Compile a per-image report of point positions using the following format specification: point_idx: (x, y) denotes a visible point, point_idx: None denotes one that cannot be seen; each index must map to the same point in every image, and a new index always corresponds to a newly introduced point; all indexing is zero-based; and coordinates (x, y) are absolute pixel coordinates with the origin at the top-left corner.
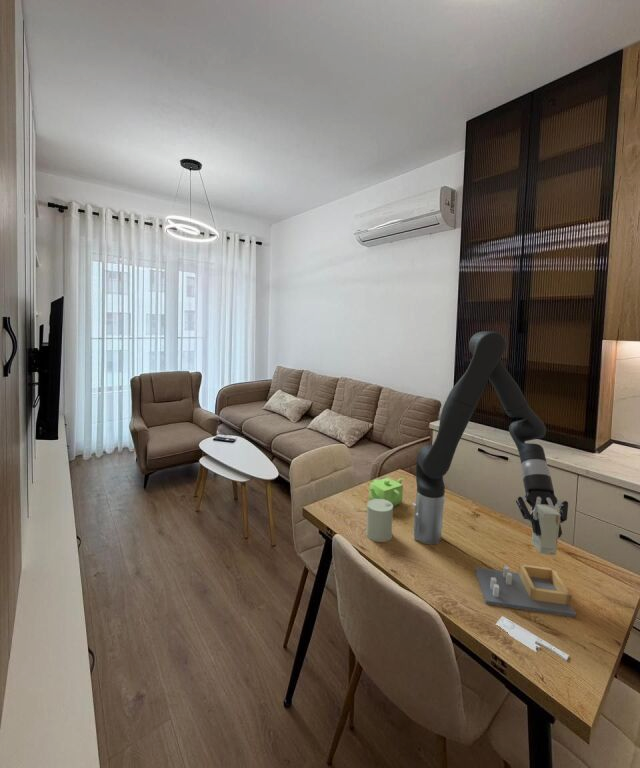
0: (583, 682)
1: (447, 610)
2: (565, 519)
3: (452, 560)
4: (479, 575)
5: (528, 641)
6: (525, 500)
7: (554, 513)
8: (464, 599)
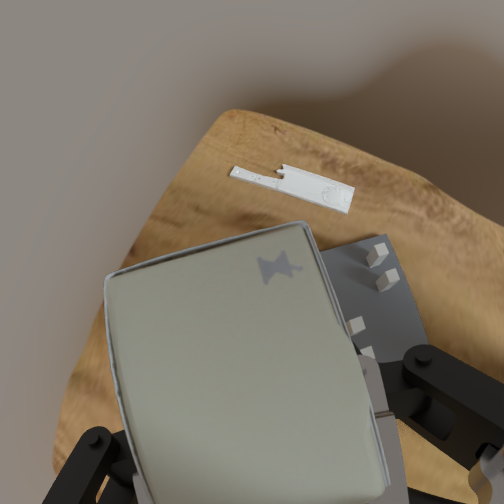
0: (218, 145)
1: (430, 191)
2: (90, 434)
3: (473, 358)
4: (418, 320)
5: (295, 173)
6: (496, 488)
7: (167, 281)
8: (420, 231)
